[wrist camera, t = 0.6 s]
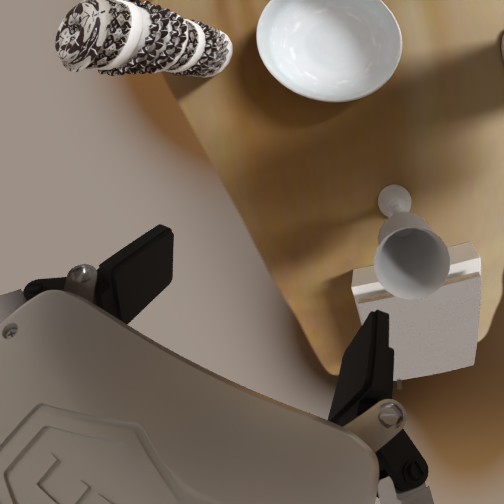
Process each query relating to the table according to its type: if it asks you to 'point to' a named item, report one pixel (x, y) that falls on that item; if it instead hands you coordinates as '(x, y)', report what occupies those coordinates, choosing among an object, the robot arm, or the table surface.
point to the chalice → (408, 249)
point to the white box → (431, 327)
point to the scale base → (461, 263)
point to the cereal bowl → (329, 46)
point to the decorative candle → (139, 40)
